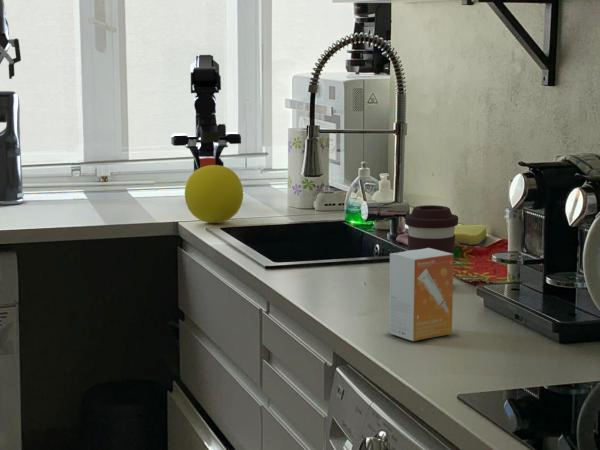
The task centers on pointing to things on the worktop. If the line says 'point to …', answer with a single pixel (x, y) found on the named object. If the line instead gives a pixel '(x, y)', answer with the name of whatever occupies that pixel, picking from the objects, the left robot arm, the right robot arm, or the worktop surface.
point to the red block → (207, 161)
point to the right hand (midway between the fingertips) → (206, 170)
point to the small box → (421, 294)
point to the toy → (213, 193)
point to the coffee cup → (431, 228)
